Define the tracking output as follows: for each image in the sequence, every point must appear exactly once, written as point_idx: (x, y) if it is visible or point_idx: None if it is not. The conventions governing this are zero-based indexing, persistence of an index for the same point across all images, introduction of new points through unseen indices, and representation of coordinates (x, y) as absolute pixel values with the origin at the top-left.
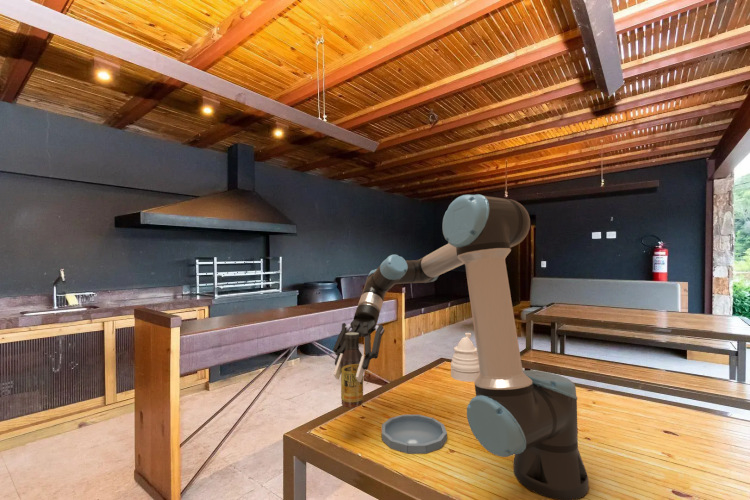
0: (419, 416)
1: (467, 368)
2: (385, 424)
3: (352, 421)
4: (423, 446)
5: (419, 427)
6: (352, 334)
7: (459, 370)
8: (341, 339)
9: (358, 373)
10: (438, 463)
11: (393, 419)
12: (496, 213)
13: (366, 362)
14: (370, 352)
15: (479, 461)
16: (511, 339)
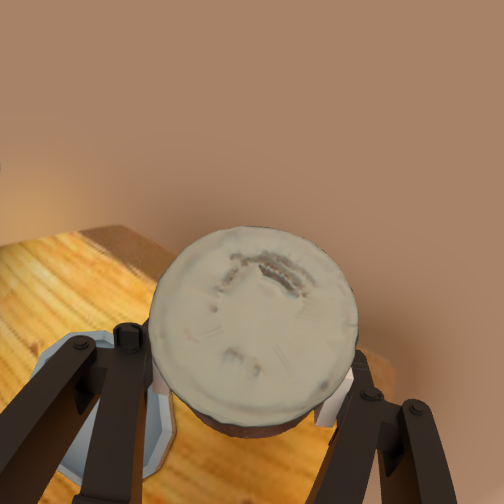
0: (78, 476)
1: None
2: (162, 434)
3: (273, 479)
4: (75, 333)
5: (82, 438)
6: (229, 238)
7: None
8: (414, 493)
9: None
10: (62, 305)
11: (144, 467)
12: None
13: (147, 327)
14: (105, 365)
15: (6, 315)
16: None
